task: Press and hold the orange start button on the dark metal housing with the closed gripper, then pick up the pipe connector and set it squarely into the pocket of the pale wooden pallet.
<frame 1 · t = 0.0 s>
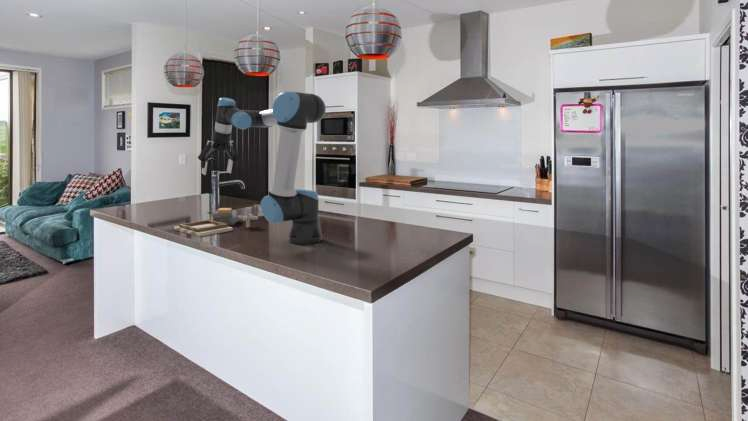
hand: (216, 173, 216), 28 cm above the countertop, tool tilted 20°, fingers open, 13 cm apart
start button: (224, 211, 235), point 6 cm above the countertop, slide at 0.0 cm
pallet: (203, 230, 218), on the countertop
button housing: (225, 222, 236), on the countertop
pipe connector: (248, 227, 227), on the countertop
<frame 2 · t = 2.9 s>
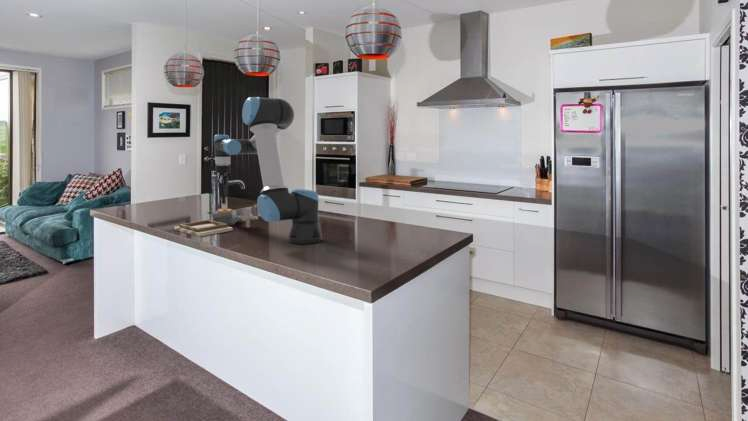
hand: (224, 209, 235), 7 cm above the countertop, tool pointing down, fingers closed
start button: (224, 212, 236), point 5 cm above the countertop, slide at 0.5 cm, touching gripper
everything else where it was.
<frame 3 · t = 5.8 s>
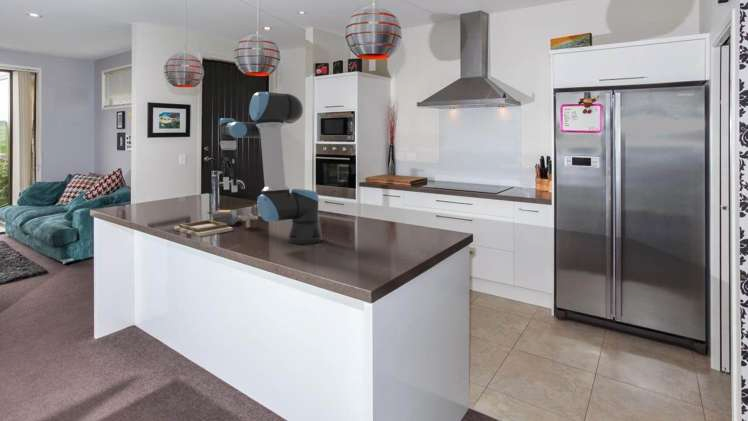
hand: (230, 190, 230), 18 cm above the countertop, tool pointing down, fingers open, 13 cm apart
start button: (224, 213, 236), point 5 cm above the countertop, slide at 1.1 cm
everything else where it was.
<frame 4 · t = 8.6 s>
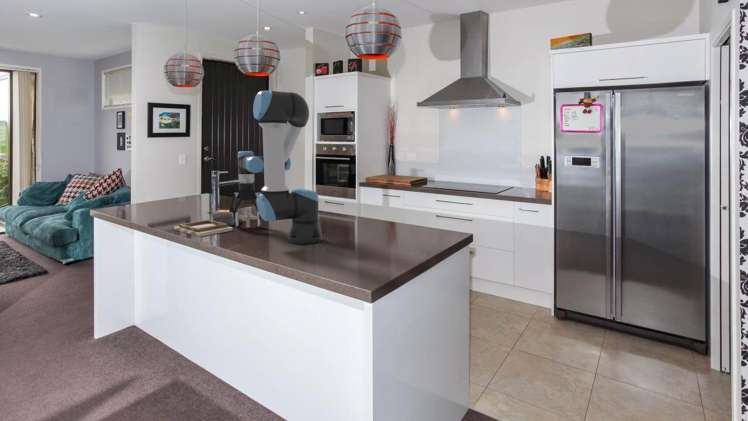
hand: (248, 225, 227), 1 cm above the countertop, tool pointing down, fingers closed on pipe connector, 10 cm apart
pipe connector: (248, 227, 227), on the countertop, touching gripper
everything else where it was.
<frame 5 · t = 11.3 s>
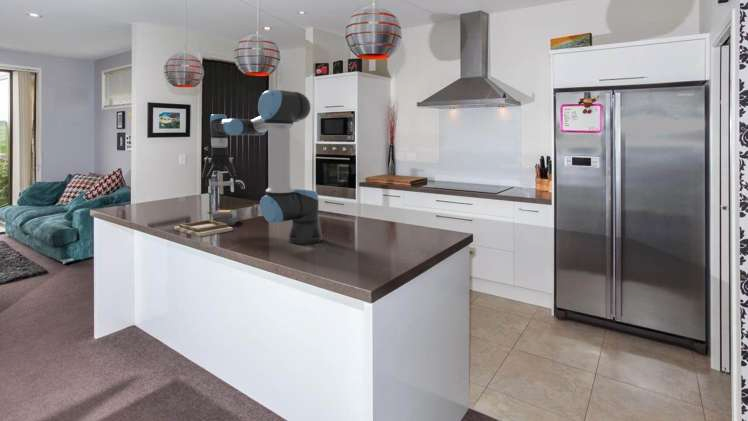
hand: (221, 192, 219), 18 cm above the countertop, tool pointing down, fingers closed on pipe connector, 10 cm apart
pipe connector: (221, 194, 219), point 17 cm above the countertop, touching gripper
everything else where it was.
when the fingers open (4 cm above the countertop, at t = 14.2 s): pipe connector drops 2 cm, resting on pallet.
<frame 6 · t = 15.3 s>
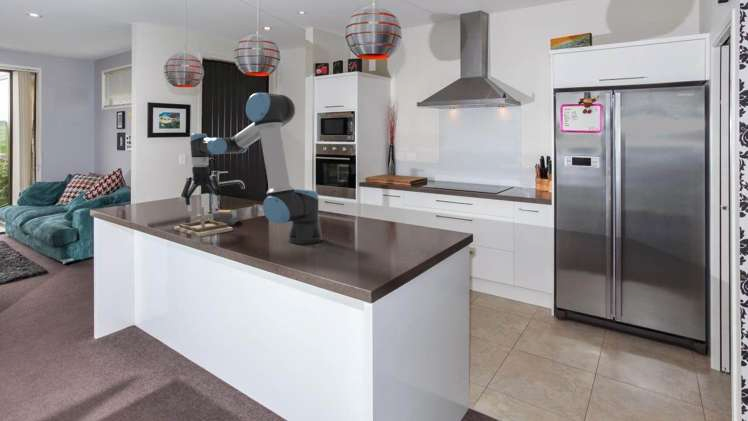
hand: (203, 209, 216), 10 cm above the countertop, tool pointing down, fingers open, 13 cm apart
pipe connector: (203, 227, 218), point 1 cm above the countertop, touching pallet
everything else where it was.
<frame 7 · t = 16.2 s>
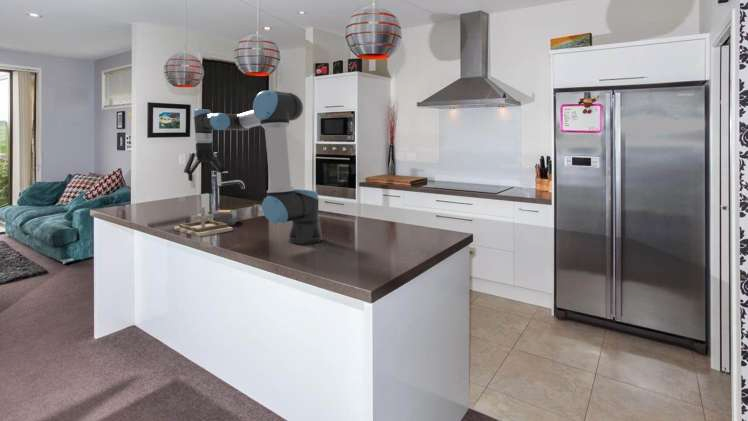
hand: (206, 186, 216), 21 cm above the countertop, tool pointing down, fingers open, 13 cm apart
nothing on the countertop moved.
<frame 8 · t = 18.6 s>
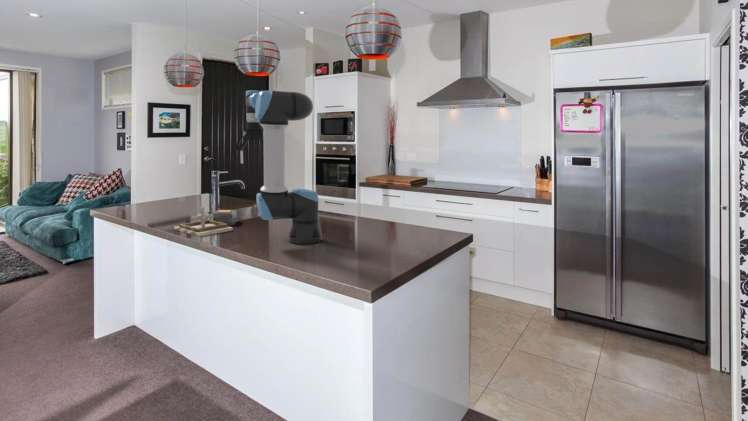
hand: (255, 163, 231), 32 cm above the countertop, tool pointing down, fingers open, 13 cm apart
nothing on the countertop moved.
at the end: start button slide at 1.1 cm; pipe connector 0.1 cm off-centre on the pallet, point 1.3 cm above the pallet's base; the gripper is holding nothing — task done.
